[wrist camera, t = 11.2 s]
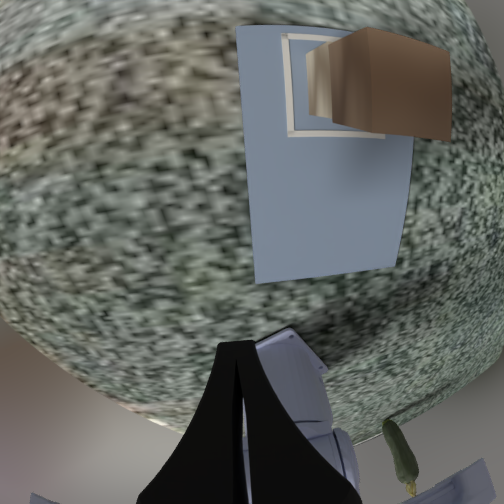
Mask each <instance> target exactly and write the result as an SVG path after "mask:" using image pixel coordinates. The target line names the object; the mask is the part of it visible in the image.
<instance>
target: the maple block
mask: <svg viewBox="0 0 504 504" xmlns="http://www.w3.org/2000/svg"><path fill="white" fill-rule="evenodd" d="M331 43H333V42H329V41H328V42H326V43H324V44H322V45H320V46H319V47H317V48H315V49H314V50H312V51H310V52H308V53H307V54H306V65H307V81H308V100H309V115H313V116H319V117H325V118H330V119H332V95H331V76H330V61H329V49H328V45H329V44H331Z"/></svg>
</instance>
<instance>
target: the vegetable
mask: <svg viewBox="0 0 504 504" xmlns="http://www.w3.org/2000/svg"><path fill="white" fill-rule="evenodd" d="M382 424H383V426H382V430H383V434H384V437H385V440H386V442H387V444H388V446H389V448H390V450H391V452H392V455H393V458H394V464H395V470H396V475H397V477H398V480H399V481H400V482H401V483H404V484H407V485H406V490H407V492H408V493H409V494H410V495H411V496H412V497H415V496H416V484H415V482H414V481H415V480H416V478H417V477H418V473H419V469H418V464H417V461H416V458H415V456H414V454H413V452H412V451H411V449H410V448H409V446H408V444H407V441H406V440H405V437H404V435H403V433H402V431H401V430H400V428H399V427H398V426H397V424H396V423H395V422H393V421H392V420H389V419H387V420H385V421H383V422H382Z"/></svg>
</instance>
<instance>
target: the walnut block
mask: <svg viewBox="0 0 504 504" xmlns="http://www.w3.org/2000/svg"><path fill="white" fill-rule="evenodd" d="M328 49H329V61H330V76H331V95H332V123H335V124H340V125H344V126H348V127H352V128H355V129H359V130H363V131H366V132H370V133H378V134H391V135H402V136H411V137H419V138H427V139H434V140H441V141H447V142H451V124H452V83H451V66H450V55H449V52H448V51H446V50H443V49H440V48H438V47H435V46H433V45H430V44H427V43H424V42H421V41H418V40H415V39H412V38H409V37H405V36H402V35H398V34H395V33H391V32H387V31H383V30H379V29H374V28H370V27H365V28H363V29H360V30H358V31H356V32H354V33H352V34H350V35H347V36H345V37H343V38H341V39H339V40H337V41H335V42H333V43H331V44H329V45H328Z"/></svg>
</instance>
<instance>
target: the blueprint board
mask: <svg viewBox="0 0 504 504" xmlns="http://www.w3.org/2000/svg"><path fill="white" fill-rule="evenodd" d="M235 29H236V42H237V54H238V67H239V79H240V92H241V105H242V117H243V130H244V143H245V155H246V168H247V181H248V194H249V206H250V219H251V232H252V245H253V258H254V271H255V281H256V284H258V283H267V282H276V281H285V280H294V279H303V278H311V277H319V276H327V275H335V274H343V273H350V272H358V271H365V270H372V269H379V268H386V267H393V266H395V264H396V259H397V255H398V250H399V245H400V241H401V236H402V230H403V225H404V219H405V213H406V207H407V200H408V193H409V185H410V177H411V167H412V155H413V141H414V137H411V136H402V135H391V134H378V133H370V132H366V131H363V130H359V129H355V128H352V127H348V126H344V125H340V124H335V123H332V119H330V118H325V117H319V116H313V115H309V100H308V81H307V65H306V54H307V53H308V52H310V51H312V50H314V49H315V48H317V47H319V46H320V45H322V44H324V43H326V42H328V41H329V42H335V41H337V40H339V39H341V38H343V37H345V36H347V35H350V34H352V33H354V32H350V31H344V30H336V29H329V28H319V27H308V26H291V25H248V26H236V28H235Z"/></svg>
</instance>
